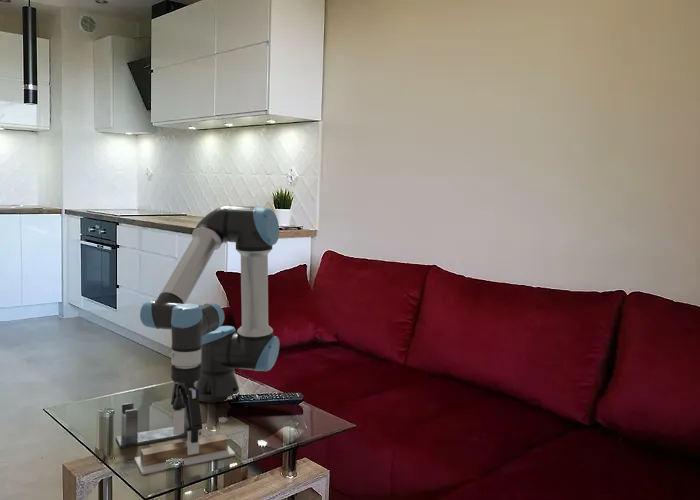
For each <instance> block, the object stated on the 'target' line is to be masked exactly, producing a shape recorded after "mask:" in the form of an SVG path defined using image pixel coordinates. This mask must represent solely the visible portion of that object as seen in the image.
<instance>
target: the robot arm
mask: <svg viewBox="0 0 700 500" xmlns="http://www.w3.org/2000/svg"><path fill="white" fill-rule="evenodd" d="M279 235H280V226H279V219H278V216H277V214H276V213H275V211H273V209H271V208H268V207H262V206H246V205H245V206H244V205H224V206H220V207H217V208H215V209H214V210H212V211H210V212H209V213H207V214H206V215H205V216H204V217H202V219H201V220H200V221H199V222H198V223H197V224H196V226H195V227H194V229H193V230H192V233H191V237H192V239H191V241H190V243H189V244H188V246H187V248H186V249H185V251H184V252H183V254H182V256H181V258H180V259H179V261H178V263H177V265H176V266H175V268H174V270H173V271H172V272H171V275H170V277H169V278H168V280H167V282H166V284H165V285H164V287H163V288H162V289H161V292H160V293H159V295H158V297H157V298H156V300H155V299H151V300H147V301H145V302H144V303H142V306H141V307H140V311H139V312H140V313H139V317H140V321H141V323H142V325H143V326H144V327H147V328H151V329H152V328H153V329H157V330H160V329H161V330H170V331H171V353H169V355H168V356H169V357H170V358H171V364H172V365H171V368H170V369H171V370H170V371H171V372H170V373H171V374H170V378H171V380H172V381H173V389H172V395H171V400H170V401H171V402H170V404H171V406H172V409H173V411H172V412H173V418H172V419H173V421H172V422H173V423H172V424H173V426H172V427H173V434H174V435H175V434H181V433H184V409H181V408H185V409H186V414H187V420H188V425H189V428H187V430H186V431H188V436H187V441H188V447H187V454H188V455H191V454H197V453H199V439H200V434H199V430H200V431H201V430H203V423H202V415H201V406H200V402H202V403H209V404H210V403H211V404H212V403H213V404H215V403H216V402H220V403H222V402H221V401H224V400H226V399H227V397H228V396H229V395H233V394H237V393H238V392H239V393H240V387H239V383H238V380H237V377H236V373H235V369H240V370H249V371H255V372H268V371H270V370H272V368H273V366H275V363H276V361H277V359H278V357H279V353H280V352H279V351H280V346H281V345H280V339H279V338H278V336H276V335H274V329H273V327H271V326H270V325H269V280H268V279H269V260H268V259H269V253H271V251H273V245H276V244H277V242H278V241H279ZM228 242H230V243H235V250H236V251H237V252H238V253H239V254H240V295H241V296H240V297H241V299H240V300H241V302H240V303H241V326H240V327H239V328H237V329H236V328H235V326H232V325H223V324H224V322H225V318H226V317H225V312H224V309H223V308H222V306H220V305H218V304H217V303H214V302H209V303H204V304H197V303H187V302H188V299H189V298H190V296H191V294H192V292H193V290H194V288H195V287H196V285H197V283H198V281H199V279H200V278H201V277H202V274H203V273H204V271H205V269H206V266H207V265H208V263H209V261H210V259H211V258H212V255H213V254H214V253H215V251H216V250H219V249H220V248H221V246H222V244H223V243H228ZM236 330H237V331H236ZM194 383H195V384H194ZM216 404H217V403H216Z"/></svg>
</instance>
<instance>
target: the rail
mask: <svg viewBox="0 0 700 500" xmlns="http://www.w3.org/2000/svg"><path fill="white" fill-rule="evenodd" d="M228 446H229V438H228V437H227V436H226V435H225V434H224V433H221V434H216V435H212V436H207V437H202V438H200V437H199V453H197V454H191V455H188V454H187V447H188V440H185V441H180V442H179V441H178V442H174V443H168V444H164V445H158V446H153V447H147V448H146V447H145V448H140V452H139V453H140V461H141V463H142V465H143V467H145V466H149V465H154V464H159V463H164V462H166V460H168V459H171V458H182V459H184V458H189V457H194V456H199V455H204V454H209V453H214V452H219V451H224V450H228Z"/></svg>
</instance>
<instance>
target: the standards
mask: <svg viewBox="0 0 700 500" xmlns="http://www.w3.org/2000/svg"><path fill="white" fill-rule="evenodd" d="M134 404H135V403H134V402H126V403H121V435H117V436H115V441H116V442H117V445H118V446H120V447H119V448H120V449H123V448H124V449H125V448H130V447H135V446H140V445H141V446H142V445H147V444H152V443H153V444H154V443H158V442H163V441H168V440H174V439H180V438H185V437H188V431H186V430H187V428H189V425H188V420H187V414H186V409H185V408H181V409H184V433H181V434H175V435H174V434H173V426H170V427H169V426H168V427H163V428H158V429H151V430H146V431H140V432H139V431H138V428H139V427H138V425H139V420H138V417H139V416H138V415H139V414H138V410H139V409H138V408H135V407H134V406H135V405H134ZM201 433H202V431H201V430H199V435H200V434H201Z"/></svg>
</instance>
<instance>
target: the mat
mask: <svg viewBox="0 0 700 500" xmlns="http://www.w3.org/2000/svg"><path fill="white" fill-rule="evenodd" d="M234 456H236V452H235V451H234V450H233V449H232V448H231V447H230V445H228V450H224V451H219V452H214V453H209V454H204V455H199V456H194V457H189V458H184V461H185V463H186V464H187V465H186V466H191V465H195V464H201V463H205V462H209V461H215V460H219V459H225V458H228V457H234ZM134 461H135V464H136V465H137V468H138V470H139V471H140V473H141V475H147V474H152V473H157V472H161V471H165V470H164V469H165V462H164V463H159V464H154V465H149V466H145V467H143V465H142V463H141V461H140V456H134Z"/></svg>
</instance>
